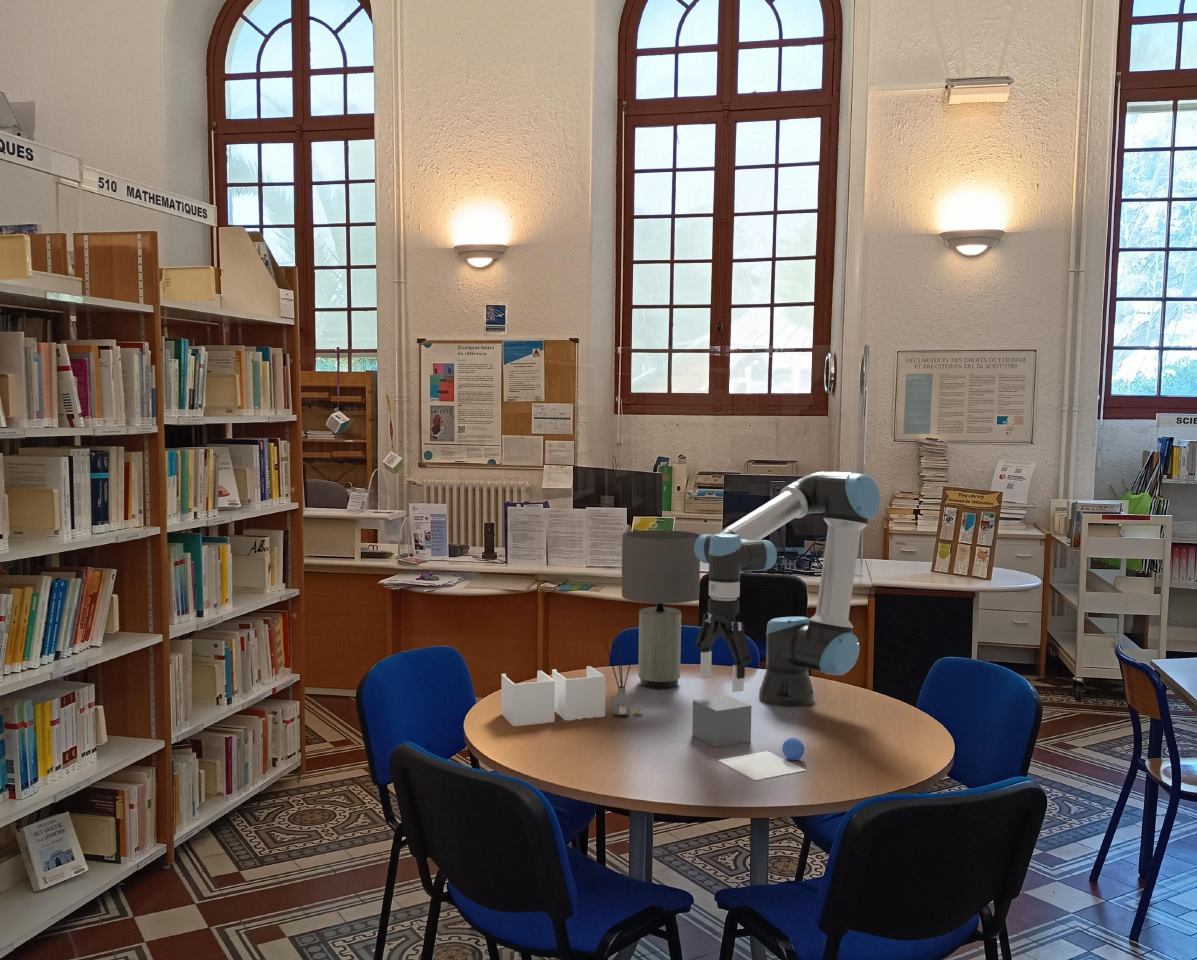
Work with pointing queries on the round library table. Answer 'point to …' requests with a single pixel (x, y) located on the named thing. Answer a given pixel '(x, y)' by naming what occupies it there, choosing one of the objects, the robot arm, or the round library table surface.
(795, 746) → the ball
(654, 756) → the round library table surface
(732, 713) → the block
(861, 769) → the round library table surface
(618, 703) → the reed diffuser
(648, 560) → the lamp
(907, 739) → the round library table surface
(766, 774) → the white flat square plate
